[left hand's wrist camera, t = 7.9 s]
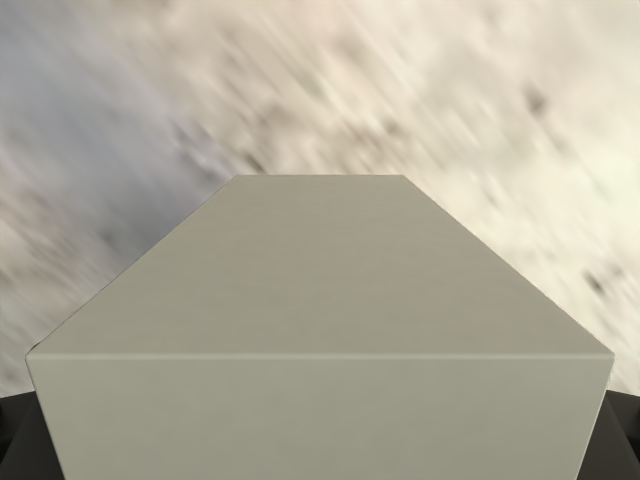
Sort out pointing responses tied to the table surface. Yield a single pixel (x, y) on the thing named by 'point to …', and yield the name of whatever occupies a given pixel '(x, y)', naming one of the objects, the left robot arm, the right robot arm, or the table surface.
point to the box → (320, 349)
